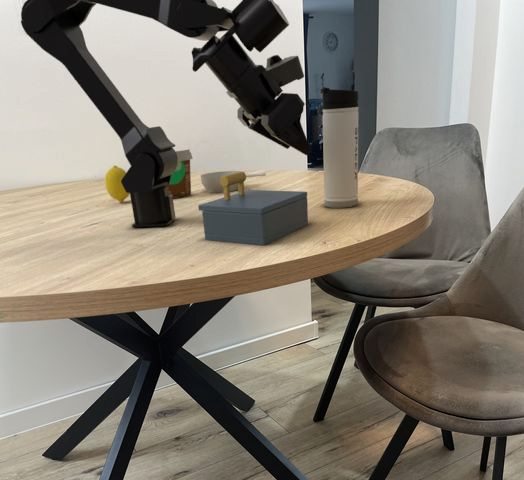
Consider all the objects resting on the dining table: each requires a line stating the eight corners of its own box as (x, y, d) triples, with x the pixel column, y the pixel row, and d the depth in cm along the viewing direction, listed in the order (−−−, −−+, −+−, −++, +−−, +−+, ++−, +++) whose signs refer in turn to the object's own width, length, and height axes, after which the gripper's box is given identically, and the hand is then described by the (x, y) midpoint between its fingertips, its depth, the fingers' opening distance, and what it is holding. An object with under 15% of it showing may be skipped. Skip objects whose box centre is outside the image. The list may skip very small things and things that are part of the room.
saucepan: (221, 184, 132) (219, 169, 130) (278, 187, 122) (278, 170, 120) (192, 191, 124) (190, 175, 122) (252, 195, 114) (250, 177, 113)
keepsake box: (205, 239, 79) (201, 211, 77) (253, 220, 90) (251, 194, 88) (263, 245, 74) (261, 214, 72) (308, 224, 84) (307, 197, 82)
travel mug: (317, 204, 99) (314, 89, 90) (348, 200, 101) (348, 86, 92) (330, 209, 94) (329, 87, 85) (363, 205, 95) (365, 84, 86)
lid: (198, 210, 78) (195, 180, 76) (248, 194, 88) (246, 167, 86) (261, 214, 72) (259, 181, 70) (307, 196, 82) (306, 168, 80)
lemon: (127, 204, 114) (120, 166, 110) (104, 205, 115) (97, 167, 112) (137, 199, 119) (131, 163, 115) (115, 200, 120) (109, 164, 116)
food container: (137, 200, 117) (129, 154, 113) (148, 196, 123) (141, 151, 118) (187, 199, 114) (181, 151, 110) (196, 194, 120) (191, 149, 115)
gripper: (296, 28, 71) (357, 118, 79) (257, 37, 86) (311, 111, 95) (240, 89, 72) (306, 171, 80) (211, 87, 88) (269, 156, 96)
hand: (298, 149), depth 88 cm, fingers open, 9 cm apart
